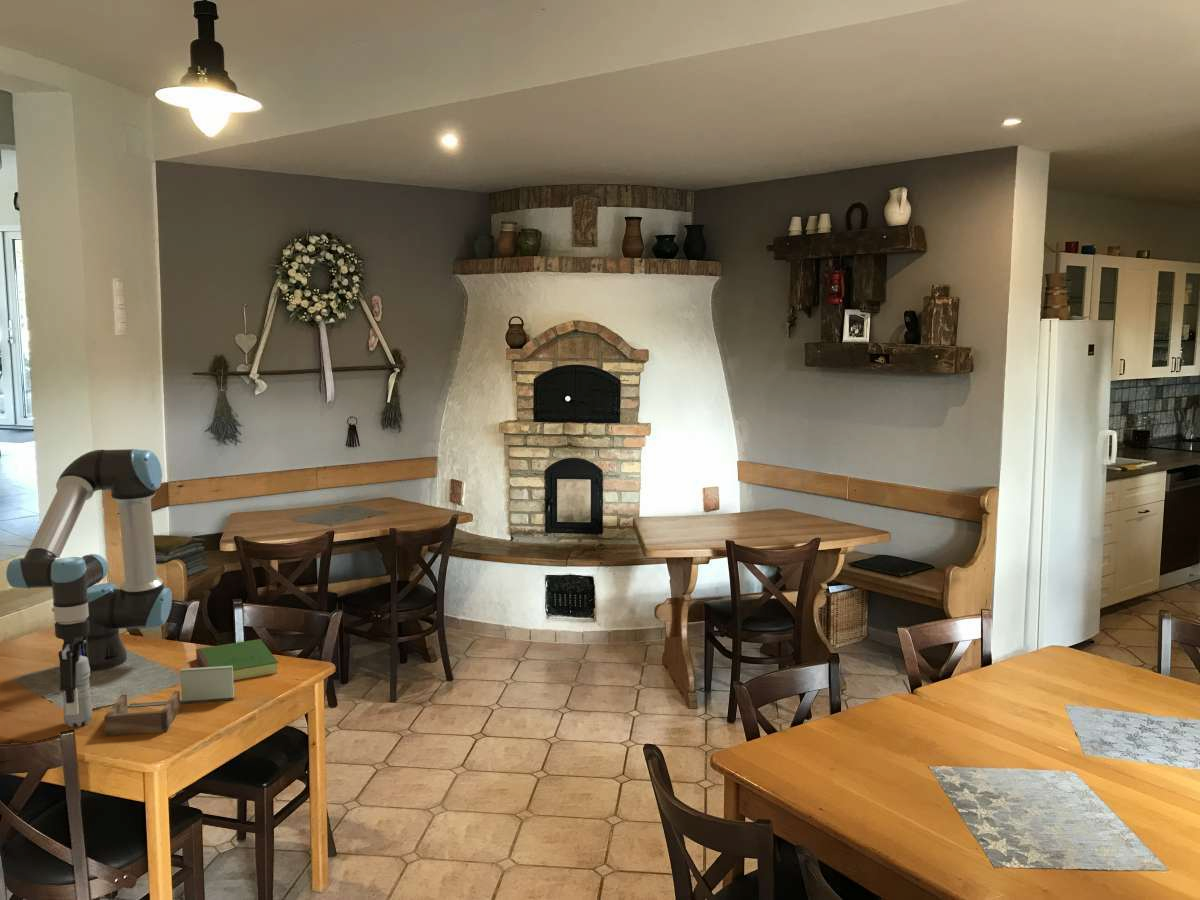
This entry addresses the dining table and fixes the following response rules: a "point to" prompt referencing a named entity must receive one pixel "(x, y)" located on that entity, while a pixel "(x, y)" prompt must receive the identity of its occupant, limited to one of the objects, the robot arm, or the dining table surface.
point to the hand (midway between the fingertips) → (77, 708)
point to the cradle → (144, 716)
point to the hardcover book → (240, 658)
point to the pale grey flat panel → (207, 683)
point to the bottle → (81, 694)
